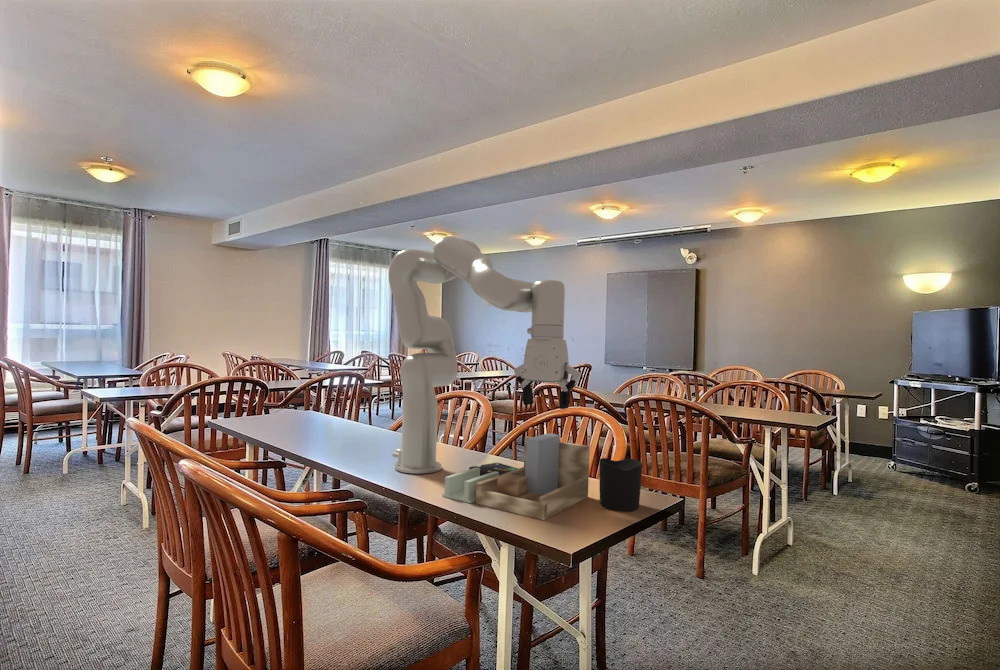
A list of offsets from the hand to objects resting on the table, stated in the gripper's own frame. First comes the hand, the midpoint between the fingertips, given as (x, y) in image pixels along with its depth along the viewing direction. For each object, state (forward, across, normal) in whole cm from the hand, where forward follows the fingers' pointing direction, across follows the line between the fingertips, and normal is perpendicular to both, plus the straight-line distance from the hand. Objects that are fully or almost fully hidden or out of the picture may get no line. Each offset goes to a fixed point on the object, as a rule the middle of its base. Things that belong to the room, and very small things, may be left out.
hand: (545, 406), depth 129 cm
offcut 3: (+21, +3, -9) cm, 23 cm away
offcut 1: (+18, -3, -9) cm, 21 cm away
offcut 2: (+21, -3, -9) cm, 23 cm away
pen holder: (+22, +16, +6) cm, 28 cm away
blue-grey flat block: (+21, 0, 0) cm, 21 cm away
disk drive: (+22, -17, +8) cm, 29 cm away
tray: (+21, 0, -4) cm, 21 cm away
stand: (+21, -14, -9) cm, 27 cm away
